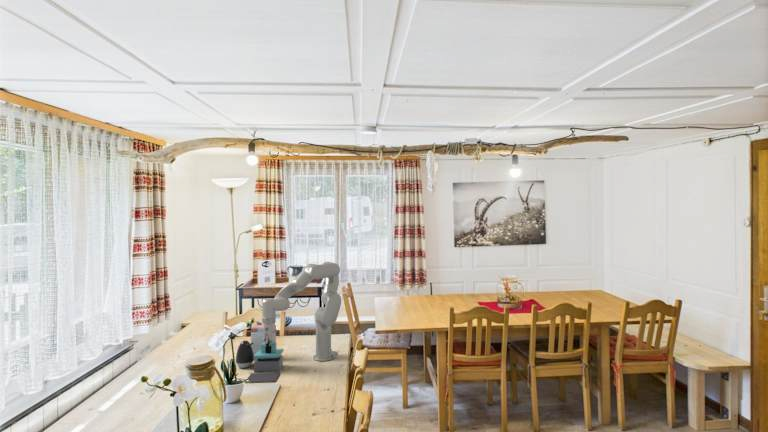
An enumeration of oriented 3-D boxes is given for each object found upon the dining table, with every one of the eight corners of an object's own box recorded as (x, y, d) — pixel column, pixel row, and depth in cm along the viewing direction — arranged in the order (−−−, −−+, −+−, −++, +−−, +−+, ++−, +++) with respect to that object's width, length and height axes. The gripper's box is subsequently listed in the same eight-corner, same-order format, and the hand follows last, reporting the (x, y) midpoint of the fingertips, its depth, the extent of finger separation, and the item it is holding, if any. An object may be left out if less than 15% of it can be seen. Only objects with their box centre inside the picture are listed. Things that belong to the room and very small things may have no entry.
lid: (258, 353, 225) (258, 341, 225) (283, 352, 226) (283, 340, 226) (253, 359, 214) (253, 346, 214) (279, 358, 215) (279, 346, 215)
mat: (251, 374, 212) (251, 373, 212) (280, 373, 213) (280, 372, 213) (244, 383, 200) (244, 382, 200) (275, 382, 201) (275, 381, 201)
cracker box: (276, 358, 237) (276, 324, 238) (272, 361, 231) (272, 327, 232) (254, 357, 239) (254, 324, 239) (250, 360, 233) (250, 326, 233)
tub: (258, 366, 224) (258, 355, 224) (282, 365, 225) (282, 355, 225) (254, 372, 214) (254, 362, 214) (279, 372, 215) (279, 361, 215)
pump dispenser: (248, 370, 218) (248, 343, 218) (231, 369, 220) (232, 342, 220) (257, 364, 228) (257, 338, 228) (241, 362, 230) (242, 337, 230)
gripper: (272, 323, 212) (272, 356, 212) (278, 316, 229) (278, 347, 228) (258, 324, 212) (258, 357, 212) (265, 316, 228) (266, 347, 228)
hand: (269, 351), depth 220 cm, fingers closed on lid, 3 cm apart
